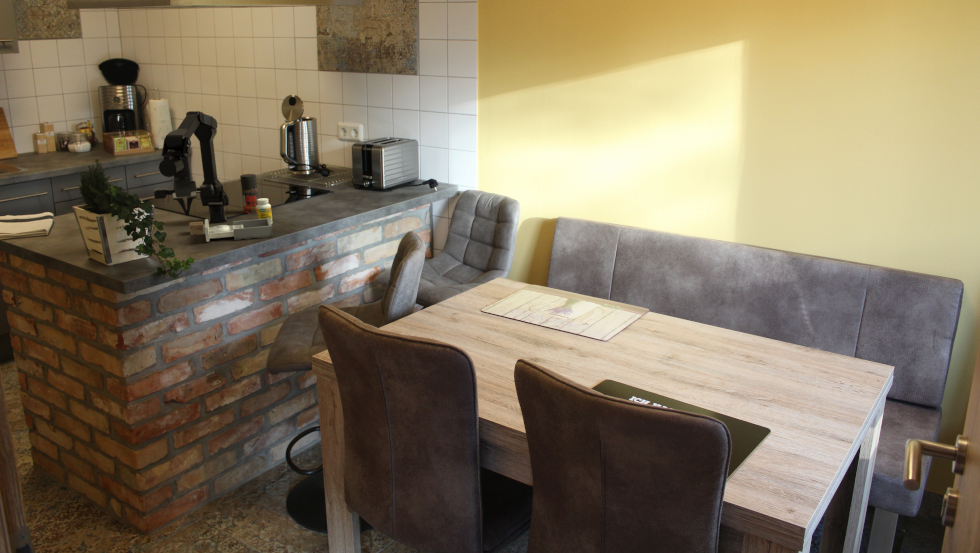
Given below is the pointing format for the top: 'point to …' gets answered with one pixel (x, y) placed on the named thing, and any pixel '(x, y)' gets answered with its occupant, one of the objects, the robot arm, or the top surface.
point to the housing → (253, 229)
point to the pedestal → (196, 228)
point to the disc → (220, 228)
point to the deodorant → (249, 193)
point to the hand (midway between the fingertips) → (187, 215)
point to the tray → (222, 234)
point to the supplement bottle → (264, 209)
